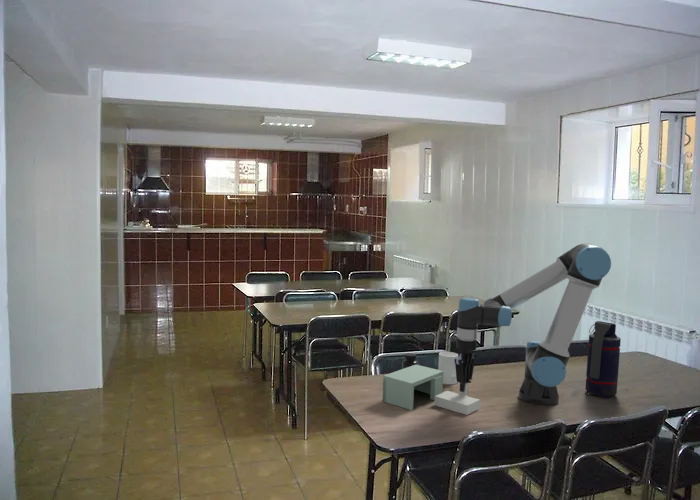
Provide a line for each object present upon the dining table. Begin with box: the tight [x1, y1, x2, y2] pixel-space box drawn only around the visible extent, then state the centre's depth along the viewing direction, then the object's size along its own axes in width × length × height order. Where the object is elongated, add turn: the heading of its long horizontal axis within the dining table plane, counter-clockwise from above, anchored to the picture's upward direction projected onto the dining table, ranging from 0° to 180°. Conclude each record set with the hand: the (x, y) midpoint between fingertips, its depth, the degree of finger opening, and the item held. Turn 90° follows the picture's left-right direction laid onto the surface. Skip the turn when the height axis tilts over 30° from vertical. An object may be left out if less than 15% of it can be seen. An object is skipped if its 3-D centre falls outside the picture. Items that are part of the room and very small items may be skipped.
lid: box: [433, 390, 481, 416], centre depth 219 cm, size 14×9×4 cm, turn 49°
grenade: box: [584, 320, 622, 399], centre depth 239 cm, size 14×12×30 cm
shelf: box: [381, 364, 444, 411], centre depth 227 cm, size 14×22×10 cm, turn 140°
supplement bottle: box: [401, 352, 419, 369], centre depth 247 cm, size 7×7×12 cm
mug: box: [437, 351, 459, 385], centre depth 248 cm, size 12×8×12 cm
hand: (463, 399), depth 224 cm, fingers closed
